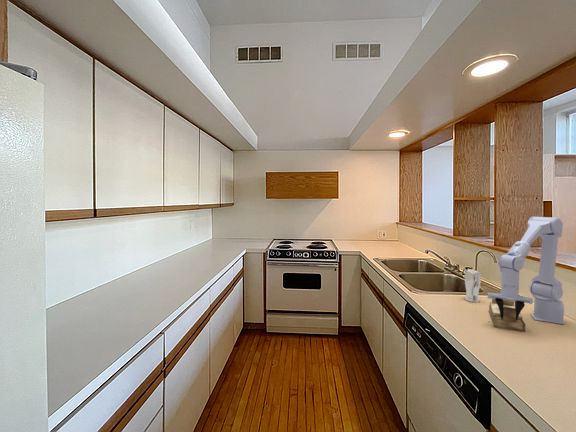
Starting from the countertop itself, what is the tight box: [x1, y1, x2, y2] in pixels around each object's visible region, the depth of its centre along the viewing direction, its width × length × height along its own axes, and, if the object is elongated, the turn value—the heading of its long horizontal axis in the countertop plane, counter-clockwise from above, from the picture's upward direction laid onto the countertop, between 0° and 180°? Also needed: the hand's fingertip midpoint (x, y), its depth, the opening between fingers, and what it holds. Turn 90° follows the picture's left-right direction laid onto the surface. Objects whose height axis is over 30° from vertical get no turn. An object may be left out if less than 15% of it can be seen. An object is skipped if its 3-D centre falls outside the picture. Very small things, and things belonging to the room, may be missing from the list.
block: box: [502, 307, 516, 323], centre depth 123 cm, size 4×4×4 cm
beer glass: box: [464, 269, 482, 303], centre depth 156 cm, size 7×7×15 cm
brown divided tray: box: [488, 304, 526, 333], centre depth 130 cm, size 10×20×3 cm, turn 152°
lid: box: [489, 298, 523, 319], centre depth 132 cm, size 10×15×3 cm, turn 152°
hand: (508, 318), depth 123 cm, fingers closed on block, 4 cm apart
